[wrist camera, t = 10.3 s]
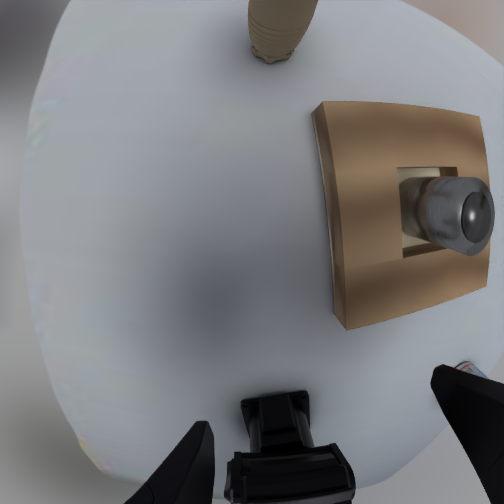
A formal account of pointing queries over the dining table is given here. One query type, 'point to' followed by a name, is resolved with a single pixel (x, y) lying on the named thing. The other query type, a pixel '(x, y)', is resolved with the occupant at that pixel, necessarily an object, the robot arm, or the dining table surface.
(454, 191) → the socket
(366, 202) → the socket board
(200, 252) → the dining table surface
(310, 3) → the handle
